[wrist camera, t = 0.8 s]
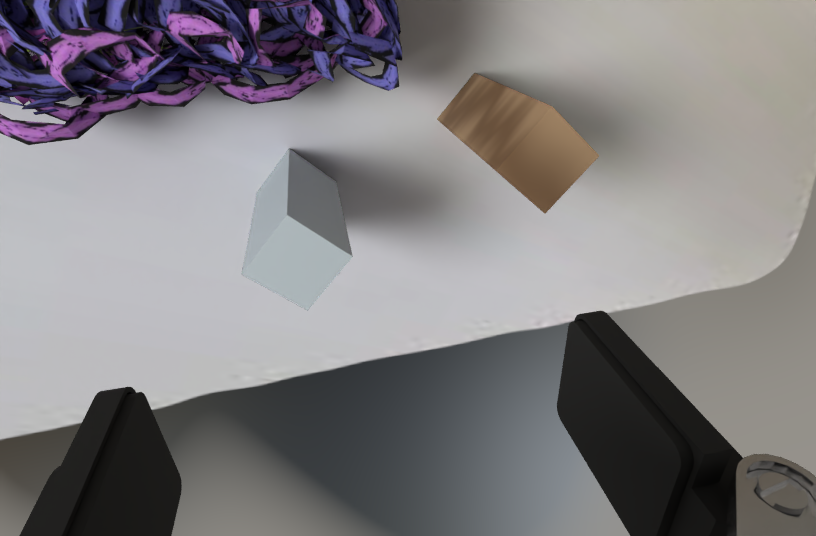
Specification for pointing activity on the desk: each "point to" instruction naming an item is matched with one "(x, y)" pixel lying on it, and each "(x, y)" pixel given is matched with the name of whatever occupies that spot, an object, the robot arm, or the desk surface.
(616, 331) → the robot arm
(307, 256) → the grey block
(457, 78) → the desk surface
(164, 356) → the desk surface
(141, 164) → the desk surface
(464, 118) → the walnut block
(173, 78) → the decorative ornament
